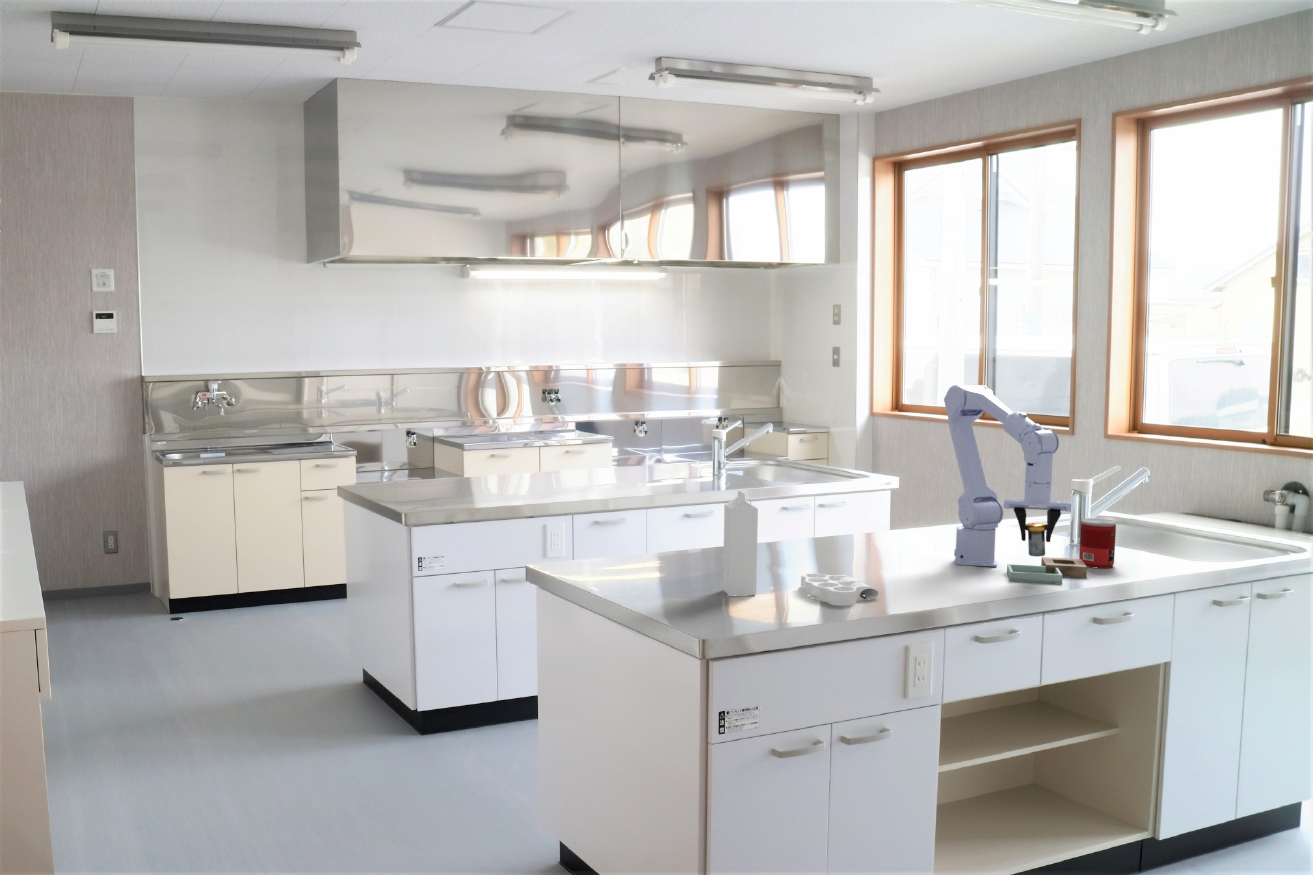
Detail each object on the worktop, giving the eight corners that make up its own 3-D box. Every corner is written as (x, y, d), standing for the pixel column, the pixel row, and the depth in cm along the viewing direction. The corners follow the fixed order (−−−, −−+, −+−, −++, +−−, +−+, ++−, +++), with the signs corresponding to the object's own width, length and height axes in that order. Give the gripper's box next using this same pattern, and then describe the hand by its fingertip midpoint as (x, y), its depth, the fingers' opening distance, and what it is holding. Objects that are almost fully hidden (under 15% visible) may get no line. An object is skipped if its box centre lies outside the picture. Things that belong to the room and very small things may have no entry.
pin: (1025, 556, 249) (1025, 527, 248) (1026, 551, 253) (1025, 522, 252) (1048, 557, 247) (1047, 527, 246) (1047, 551, 252) (1046, 522, 251)
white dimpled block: (886, 604, 226) (822, 609, 221) (845, 585, 243) (785, 589, 238) (886, 588, 225) (823, 593, 221) (845, 570, 242) (785, 574, 238)
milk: (749, 589, 236) (752, 489, 234) (756, 596, 230) (759, 493, 228) (722, 590, 235) (724, 489, 233) (728, 596, 229) (731, 493, 227)
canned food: (1116, 569, 261) (1119, 524, 260) (1081, 567, 263) (1084, 522, 261) (1110, 562, 268) (1112, 519, 267) (1076, 561, 270) (1078, 517, 269)
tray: (1010, 580, 247) (1010, 572, 247) (1006, 572, 256) (1007, 563, 256) (1062, 583, 245) (1062, 575, 244) (1056, 575, 254) (1057, 566, 253)
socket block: (1045, 575, 254) (1046, 564, 253) (1041, 567, 262) (1041, 557, 262) (1086, 577, 252) (1086, 566, 251) (1080, 569, 260) (1081, 559, 260)
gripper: (1006, 483, 246) (1004, 542, 247) (1074, 485, 243) (1071, 545, 244) (1004, 479, 253) (1001, 536, 254) (1069, 481, 250) (1067, 539, 251)
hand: (1035, 540), depth 250 cm, fingers closed on pin, 5 cm apart
